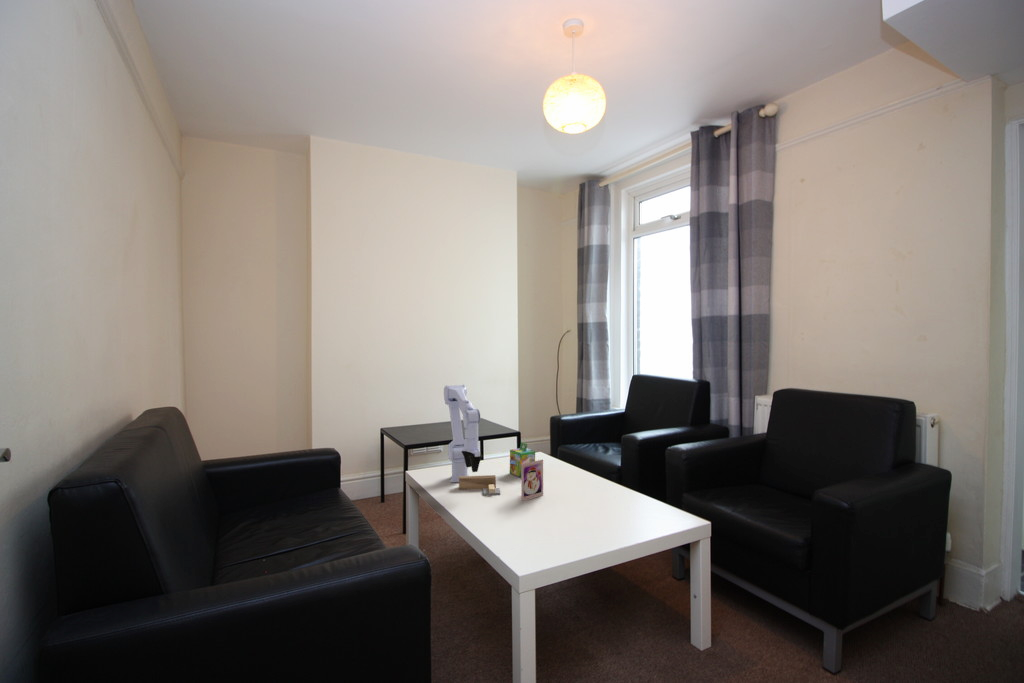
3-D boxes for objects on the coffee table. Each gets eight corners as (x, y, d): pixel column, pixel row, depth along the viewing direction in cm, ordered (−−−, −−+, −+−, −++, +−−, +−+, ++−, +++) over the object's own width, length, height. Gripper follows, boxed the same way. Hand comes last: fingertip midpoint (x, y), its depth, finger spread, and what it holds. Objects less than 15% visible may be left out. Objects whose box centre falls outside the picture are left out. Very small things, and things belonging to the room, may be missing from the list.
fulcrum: (483, 490, 201) (483, 484, 201) (499, 489, 202) (499, 484, 202) (483, 495, 195) (483, 489, 195) (500, 494, 196) (500, 488, 196)
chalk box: (509, 473, 226) (509, 443, 226) (524, 470, 232) (523, 440, 231) (520, 478, 219) (520, 446, 218) (536, 474, 224) (535, 443, 224)
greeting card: (522, 501, 188) (522, 464, 188) (512, 496, 194) (511, 460, 194) (544, 495, 194) (544, 459, 194) (533, 491, 200) (533, 456, 200)
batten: (459, 487, 206) (459, 476, 206) (495, 486, 208) (495, 475, 208) (459, 490, 203) (459, 478, 203) (495, 488, 204) (495, 477, 204)
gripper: (457, 435, 205) (457, 466, 205) (468, 442, 192) (468, 475, 192) (472, 433, 208) (472, 464, 208) (484, 440, 195) (484, 473, 195)
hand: (471, 469), depth 200 cm, fingers open, 7 cm apart
